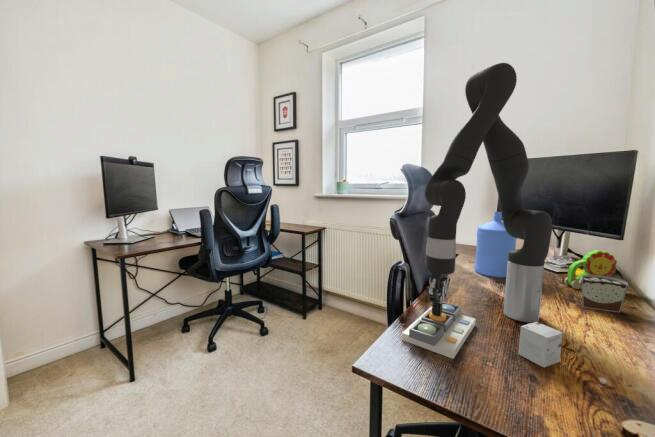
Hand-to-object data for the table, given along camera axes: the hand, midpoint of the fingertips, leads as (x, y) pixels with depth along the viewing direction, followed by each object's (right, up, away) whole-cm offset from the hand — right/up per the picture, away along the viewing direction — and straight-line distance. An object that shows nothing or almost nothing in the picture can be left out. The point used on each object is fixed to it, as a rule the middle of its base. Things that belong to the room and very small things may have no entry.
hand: (436, 314), depth 81 cm
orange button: (0, -2, 0) cm, 2 cm away
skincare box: (+20, -7, -11) cm, 24 cm away
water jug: (+46, +2, +52) cm, 69 cm away
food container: (+60, -3, +17) cm, 63 cm away
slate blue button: (+5, -2, +6) cm, 9 cm away
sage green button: (-5, -3, -6) cm, 8 cm away
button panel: (+1, -5, 0) cm, 5 cm away
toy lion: (+73, -1, +34) cm, 80 cm away
